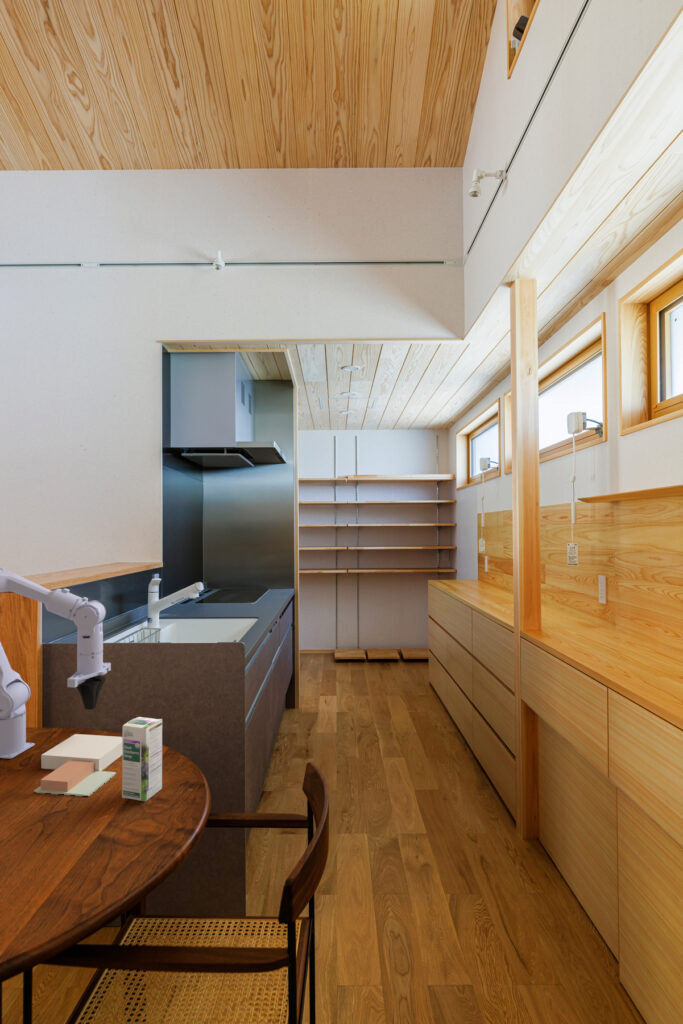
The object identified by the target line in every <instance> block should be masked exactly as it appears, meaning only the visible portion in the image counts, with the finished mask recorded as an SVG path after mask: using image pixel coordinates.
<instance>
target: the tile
mask: <svg viewBox="0 0 683 1024" xmlns="http://www.w3.org/2000/svg"><path fill="white" fill-rule="evenodd" d="M93 772H94V762H82V761H68V762H66V763H65V764H63V765H62V766H60V767H59V768H57V769H56V770H55V769H53V771H52V772H50V773H49V774H47V775H45V776H44V777H42V778H41V779H40V786H41V790H51V791H64V792H68V791H69V790H71V789H72V788H73V787H74V786H76V785H77V784H78V783H80V782H81V781H82V780H84V779H85V778H86V777H88V776H89V775H90V774H92V773H93Z"/></svg>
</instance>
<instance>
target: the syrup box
mask: <svg viewBox="0 0 683 1024" xmlns="http://www.w3.org/2000/svg"><path fill="white" fill-rule="evenodd" d="M121 734H122V736H121V737H122V755H121V757H122V759H121V763H122V767H121V768H122V769H121V770H122V771H121V773H122V776H121V777H122V779H121V782H122V785H121V797H122V799H129V800H135V801H141V802H144V803H145V802H147V801H148V800H150V798H152V797H153V796H155V795H156V794H158V793H159V791H161V790H162V789H163V718H152V717H142V716H138V717H136V718H135V717H134V718H132V719H131V720H129V721H127V722H126V723H124V724H123V725H122V733H121Z"/></svg>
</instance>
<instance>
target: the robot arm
mask: <svg viewBox="0 0 683 1024" xmlns="http://www.w3.org/2000/svg"><path fill="white" fill-rule="evenodd" d="M70 591H71V590H70V589H68V588H62V589H61V588H57V589H54V590H51V589H49V588H46V587H45V586H42V585H41V584H38V583H36V582H34V581H32V580H29V579H28V578H25V577H23V576H22V575H19V574H17V573H15V572H14V571H12V570H9V569H8V570H7V569H4V568H2V567H0V594H1V593H9V592H11V593H15V594H16V595H17V594H18V595H19V596H23V597H26V598H28V599H30V600H31V599H32V600H34V601H37V602H40V603H42V604H43V605H44V607H45V609H46V611H47V612H50V613H52V614H55V615H58V616H59V617H62V618H65V619H67V620H69V621H73V622H74V623H73V624H74V625H75V626H76V627H77V632H76V633H77V634H76V638H77V639H76V640H77V642H76V645H77V647H76V649H77V650H76V657H77V658H76V664H77V665H76V666H77V667H76V668H77V669H76V671H75V673H73V675H71V676H70V677H68V678H67V680H66V681H67V684H66V685H67V686H66V687H67V688H76V689H77V690H78V692H79V694H80V696H81V700H82V702H83V707H84V710H94V709H96V708H97V705H98V700H99V696H100V693H101V690H102V688H103V685H104V684H105V682H106V676H104V675H106V674H107V673H108V672H110V671H112V667H111V666H112V663H111V662H104V632H103V631H104V630H103V629H104V628H103V626H104V625H103V623H104V622H103V620H104V619H105V617H106V614H107V610H106V607H105V606H104V605H103V603H101V602H100V601H99V600H97V599H96V600H95V599H94V600H90V601H89V598H88V597H85V596H83V597H80V596H78V595H76V594H73V593H71V592H70ZM30 697H31V688H30V686H29V685H28V684H27V683H26V682H25V681H24V680H23V679H22V677H21V675H20V673H18V672H16V671H15V670H14V669H12V667H11V664H10V662H9V660H8V656H7V654H6V653H5V650H4V647H3V644H2V642H1V641H0V759H13V758H15V757H17V756H18V755H20V754H21V753H24V752H25V751H27V750H29V749H30V748H32V747H34V746H35V743H34V742H27V715H26V714H27V709H26V703H27V702H28V700H29V699H30Z"/></svg>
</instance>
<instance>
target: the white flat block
mask: <svg viewBox="0 0 683 1024" xmlns="http://www.w3.org/2000/svg"><path fill="white" fill-rule="evenodd" d="M120 757H122V736H112V735H100V734H99V735H97V734H83V733H82V734H80V733H74V734H73V735H71V736H70V737H68V738H66V739H65V740H63V741H61V742H60V743H59V744H57V745H55V746H54V747H52V748H51V749H48V750H47V751H46V752H44V753H42V754H41V757H40V760H41V761H40V765H41V767H40V769H44V770H56V769H57V768H59V767H60V766H62V765H63V764H65V763H66V762H68V761H82V762H94V771H104V770H105V769H106V768H108V767H109V766H110V765H111V764H112V763H114V762H115V761H116V760H118V759H119V758H120Z"/></svg>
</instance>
